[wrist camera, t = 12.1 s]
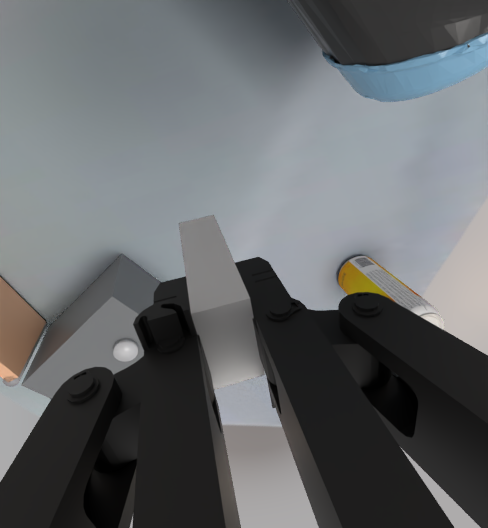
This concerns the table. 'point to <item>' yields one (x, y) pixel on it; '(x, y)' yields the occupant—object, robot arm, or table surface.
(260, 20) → the table surface
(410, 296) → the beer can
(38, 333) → the side door
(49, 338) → the block
